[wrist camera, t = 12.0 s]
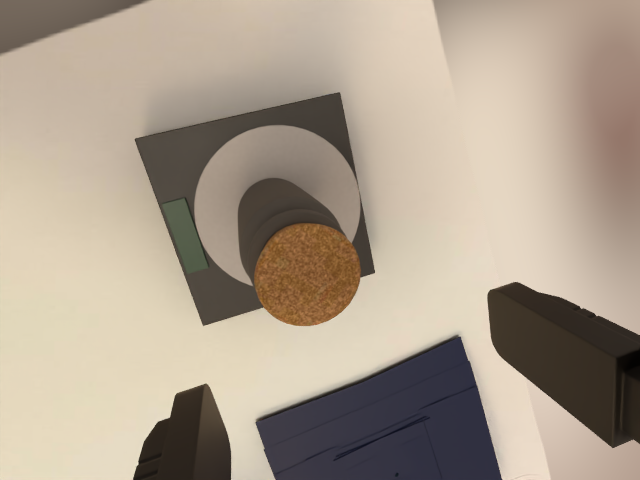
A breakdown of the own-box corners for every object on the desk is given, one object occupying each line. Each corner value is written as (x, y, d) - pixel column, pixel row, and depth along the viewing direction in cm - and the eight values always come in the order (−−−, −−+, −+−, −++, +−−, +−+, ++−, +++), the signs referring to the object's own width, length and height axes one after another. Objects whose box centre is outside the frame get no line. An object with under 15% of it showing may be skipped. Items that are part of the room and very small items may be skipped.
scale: (142, 138, 29) (132, 138, 26) (332, 95, 32) (342, 90, 29) (205, 313, 34) (202, 329, 31) (366, 264, 37) (377, 275, 34)
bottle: (280, 162, 29) (324, 182, 15) (322, 218, 31) (396, 283, 17) (221, 207, 29) (210, 270, 15) (268, 261, 31) (296, 362, 17)
